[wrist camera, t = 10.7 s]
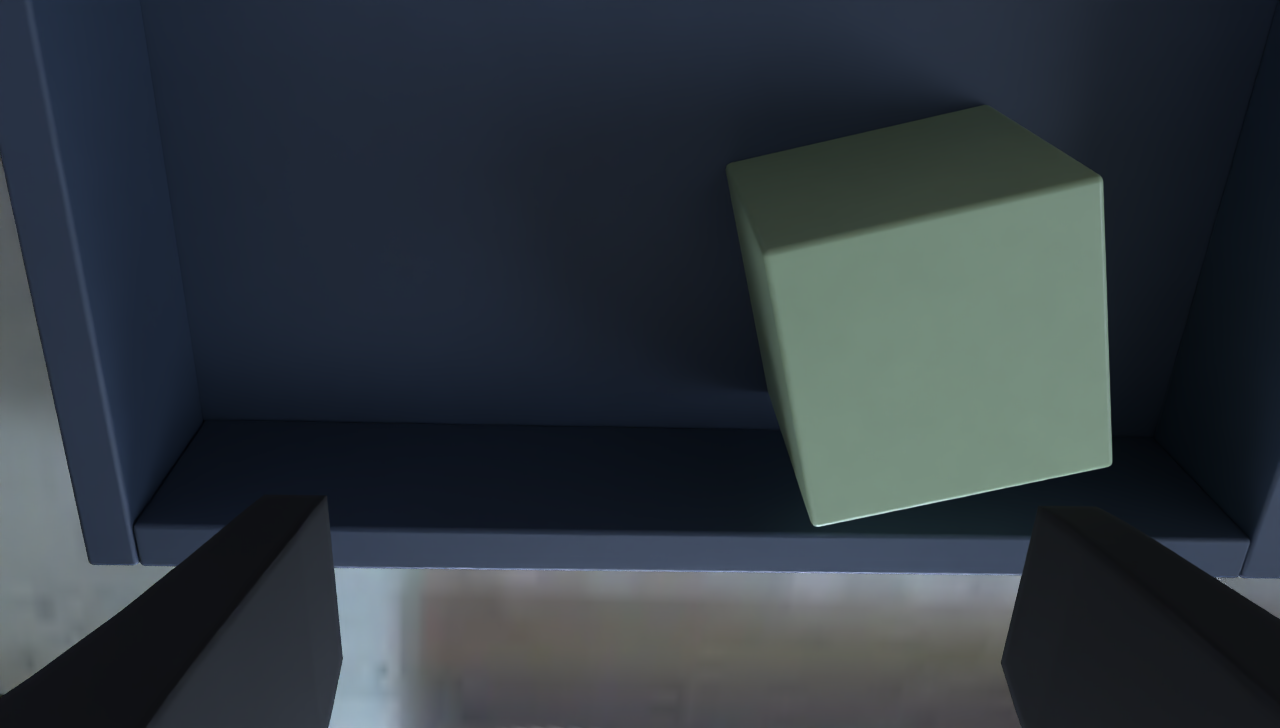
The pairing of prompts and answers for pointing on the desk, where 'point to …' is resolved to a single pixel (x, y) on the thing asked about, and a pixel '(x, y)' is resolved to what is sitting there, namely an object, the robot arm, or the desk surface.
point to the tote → (596, 267)
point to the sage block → (928, 311)
